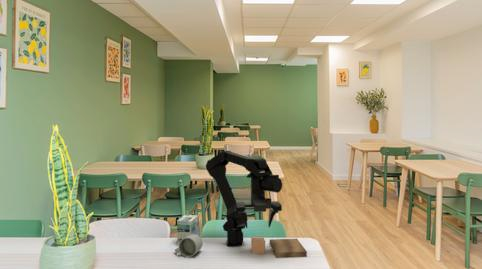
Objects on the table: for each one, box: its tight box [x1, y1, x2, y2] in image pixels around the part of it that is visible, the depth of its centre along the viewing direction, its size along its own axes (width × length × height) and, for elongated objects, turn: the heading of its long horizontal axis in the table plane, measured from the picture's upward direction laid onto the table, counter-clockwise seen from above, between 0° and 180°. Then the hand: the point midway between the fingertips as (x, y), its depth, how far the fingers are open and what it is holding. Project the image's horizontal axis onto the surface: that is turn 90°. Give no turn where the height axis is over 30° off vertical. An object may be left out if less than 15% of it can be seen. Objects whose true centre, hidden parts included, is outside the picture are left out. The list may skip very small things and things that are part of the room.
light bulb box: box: [176, 214, 200, 246], centre depth 161 cm, size 11×7×11 cm, turn 168°
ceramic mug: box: [174, 234, 204, 258], centre depth 147 cm, size 11×8×8 cm
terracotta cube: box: [250, 236, 266, 254], centre depth 149 cm, size 5×5×5 cm
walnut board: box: [269, 238, 308, 259], centre depth 150 cm, size 12×16×2 cm
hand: (257, 227), depth 149 cm, fingers open, 9 cm apart
